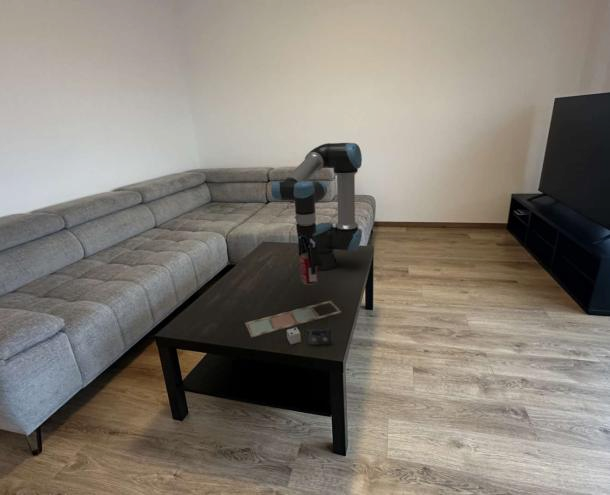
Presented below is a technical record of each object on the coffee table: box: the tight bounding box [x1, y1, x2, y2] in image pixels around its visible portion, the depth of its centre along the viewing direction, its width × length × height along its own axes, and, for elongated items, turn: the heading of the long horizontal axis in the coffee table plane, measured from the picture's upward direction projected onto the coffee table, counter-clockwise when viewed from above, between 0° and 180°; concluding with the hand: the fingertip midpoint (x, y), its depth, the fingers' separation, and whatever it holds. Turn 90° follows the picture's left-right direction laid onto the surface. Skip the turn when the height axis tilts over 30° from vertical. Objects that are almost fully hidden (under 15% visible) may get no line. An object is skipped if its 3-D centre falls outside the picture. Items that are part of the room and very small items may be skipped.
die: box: [286, 326, 302, 345], centre depth 132 cm, size 4×4×4 cm
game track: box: [244, 300, 342, 338], centre depth 147 cm, size 39×10×1 cm, turn 111°
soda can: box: [299, 252, 319, 286], centre depth 141 cm, size 7×7×12 cm
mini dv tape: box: [307, 328, 332, 346], centre depth 129 cm, size 8×2×6 cm, turn 87°
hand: (309, 277), depth 143 cm, fingers closed on soda can, 7 cm apart
